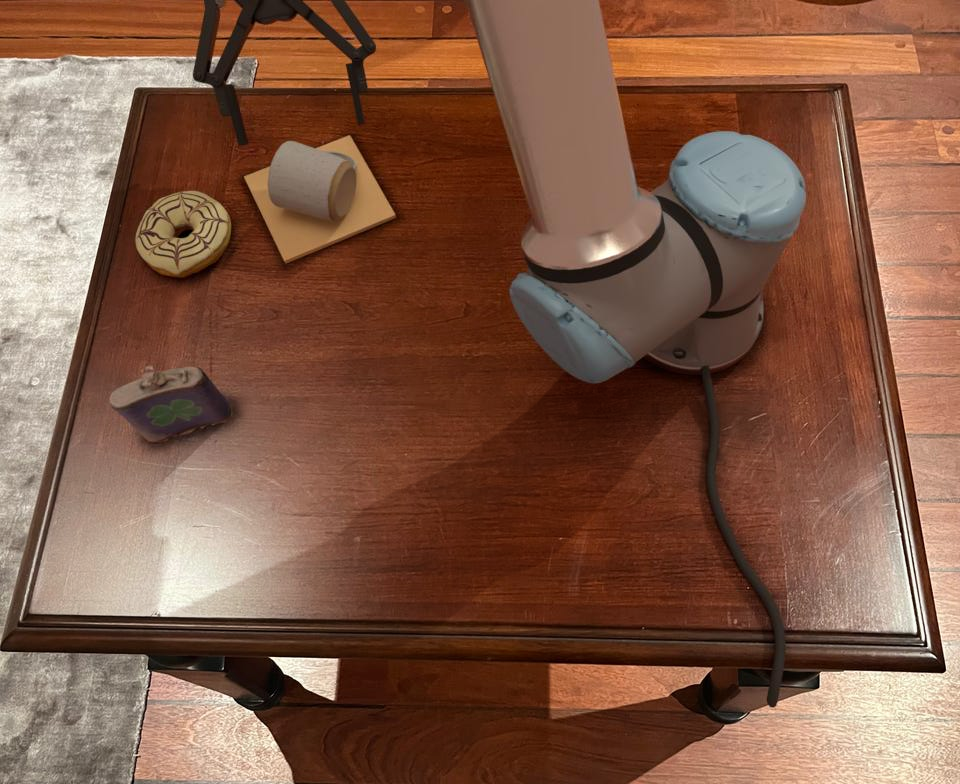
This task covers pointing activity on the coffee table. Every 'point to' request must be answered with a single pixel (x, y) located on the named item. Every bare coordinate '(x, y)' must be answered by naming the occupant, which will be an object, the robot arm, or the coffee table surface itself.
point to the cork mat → (312, 233)
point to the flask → (170, 403)
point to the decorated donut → (173, 219)
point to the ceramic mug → (312, 181)
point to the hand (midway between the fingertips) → (303, 135)
